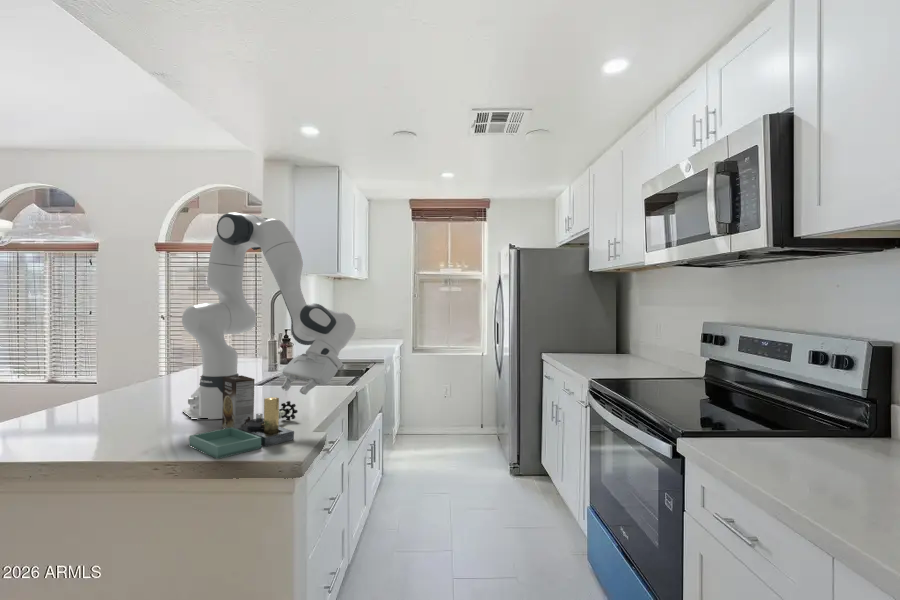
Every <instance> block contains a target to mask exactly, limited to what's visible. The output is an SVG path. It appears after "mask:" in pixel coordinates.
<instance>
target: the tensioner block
mask: <svg viewBox="0 0 900 600" xmlns="http://www.w3.org/2000/svg"><path fill="white" fill-rule="evenodd" d="M238 430H241V431H244V432H247V433H250V434H253V435H256V436H259V437H261V447H265V448H266V447H270V446H273V444H274V445H278V444H277V443H279V444H282V443H281V442H283V443H286V442H285V441H287V442H290V441H289V440H291V441H293V440H292V439H294V438H295V437H294V436H295V431H294V430H291V429H288V428H284V427H281V426H279V433H274V434H270V435H267V434H264V413H255V418H254V419H252V420H249V421H248V426H247V427H242V428H238ZM294 440H295V439H294Z"/></svg>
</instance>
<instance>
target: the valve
mask: <svg viewBox="0 0 900 600" xmlns="http://www.w3.org/2000/svg"><path fill="white" fill-rule="evenodd" d="M280 406H281V408H279V420H281V419H285V421H286V420H289V421H291V420H294V419H296V415H295V414H297V413H298V410H297V409H295V408H296V406H297V405H296V403H292V404H291V400H287V401H286V402H282V403H281V404H280ZM287 407H290V408H287ZM291 412H292V413H291ZM290 413H291V414H290ZM289 414H290V415H289Z"/></svg>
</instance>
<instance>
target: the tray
mask: <svg viewBox="0 0 900 600" xmlns="http://www.w3.org/2000/svg"><path fill="white" fill-rule="evenodd" d="M189 445H190V446H192V447H194V448H196V449H198V450H200V451H202V452H201V453H203V452H204V453H203V454H205V453H206V454H205V455H207V456H210V457H212V458H214V459H223V458H226V457H231V456H235V455H239V454H244V453H247V452H251V451H256V450H260V449H262V445H261V437H259V436H256V435H253V434H250V433H247V432H244V431H241V430H238V429H236V428H233V427H231V428H226V429H224V428H222V429H216V430H212V431H207V432H202V433H197V434H191V435H189ZM189 445H188V446H189ZM194 448H193V449H194ZM196 449H195V450H196ZM198 450H197V451H198ZM200 451H199V452H200Z"/></svg>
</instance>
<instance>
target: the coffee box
mask: <svg viewBox="0 0 900 600" xmlns="http://www.w3.org/2000/svg"><path fill="white" fill-rule="evenodd" d="M254 408H255V378H252V377H249V376H245V375H239V376H227V377H223V410H222V419H221V420H222V421H221V422H222V426H221V427H223V428H222V429H224V428H225V429H226V428H231V427H233V428H236V429H238V428H242V427H247V426H248V421H249V420H252V419H255V417H254V416H255V415H254V414H255V413H254V411H255V409H254Z"/></svg>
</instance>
